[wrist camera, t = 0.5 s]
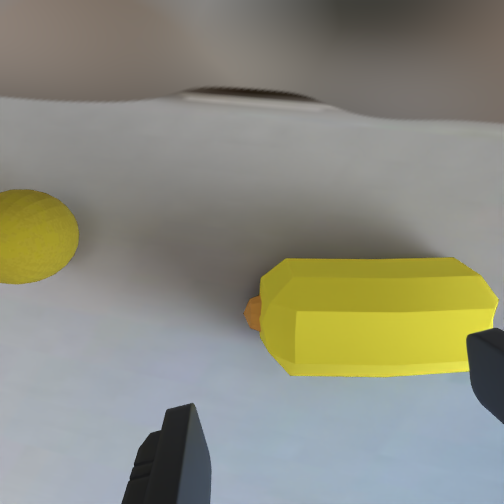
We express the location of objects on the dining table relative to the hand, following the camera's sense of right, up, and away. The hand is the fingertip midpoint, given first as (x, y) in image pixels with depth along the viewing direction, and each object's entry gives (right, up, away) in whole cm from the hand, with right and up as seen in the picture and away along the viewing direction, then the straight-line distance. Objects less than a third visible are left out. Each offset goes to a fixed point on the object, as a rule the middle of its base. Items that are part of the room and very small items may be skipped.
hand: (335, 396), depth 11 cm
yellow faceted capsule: (+6, 0, +18) cm, 19 cm away
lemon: (-16, +6, +16) cm, 23 cm away
